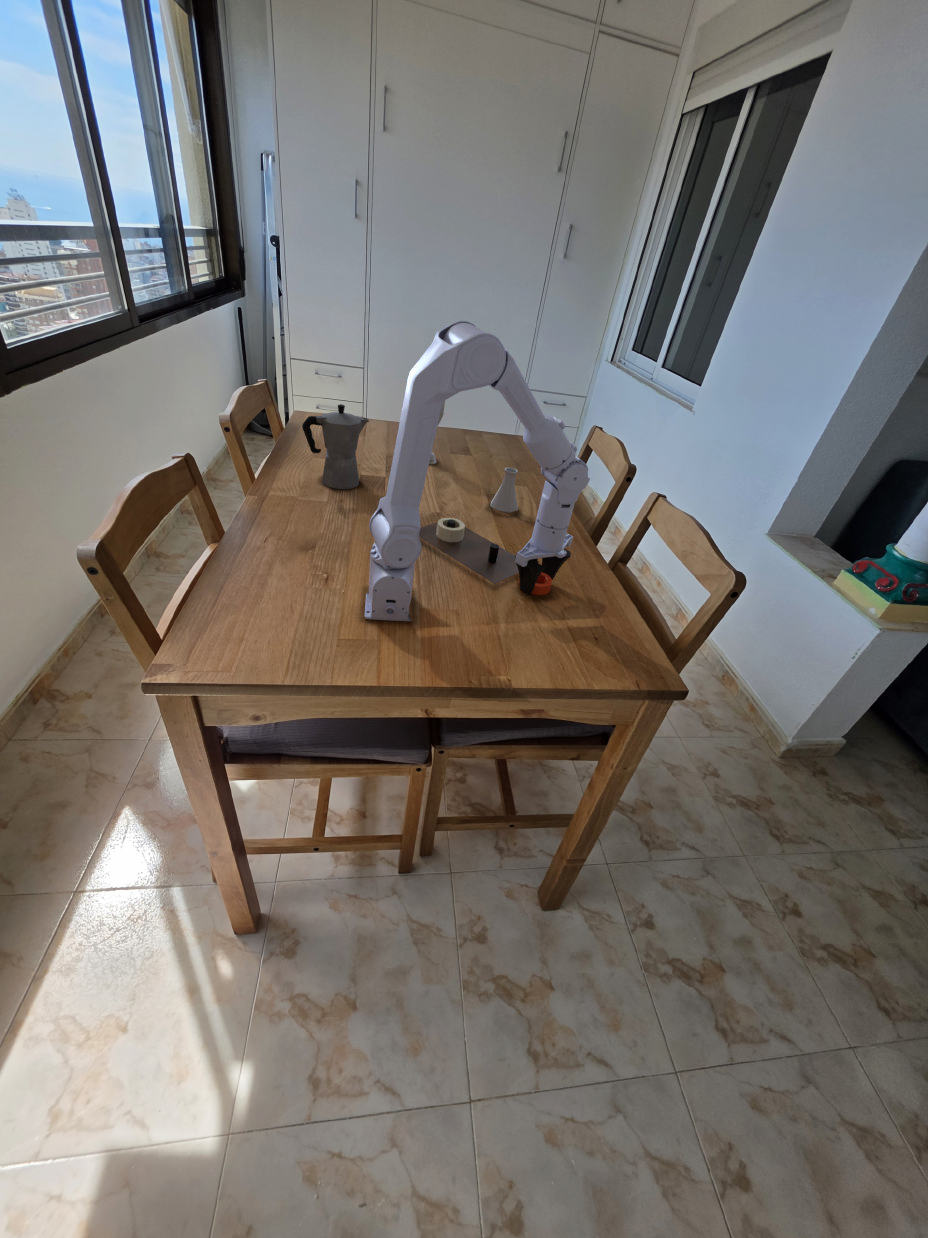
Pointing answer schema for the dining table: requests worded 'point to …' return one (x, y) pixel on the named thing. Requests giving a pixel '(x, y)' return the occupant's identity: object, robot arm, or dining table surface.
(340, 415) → the coffeepot
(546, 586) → the red ring
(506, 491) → the flask
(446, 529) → the cream ring
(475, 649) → the dining table surface
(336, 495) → the dining table surface
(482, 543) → the ring board
